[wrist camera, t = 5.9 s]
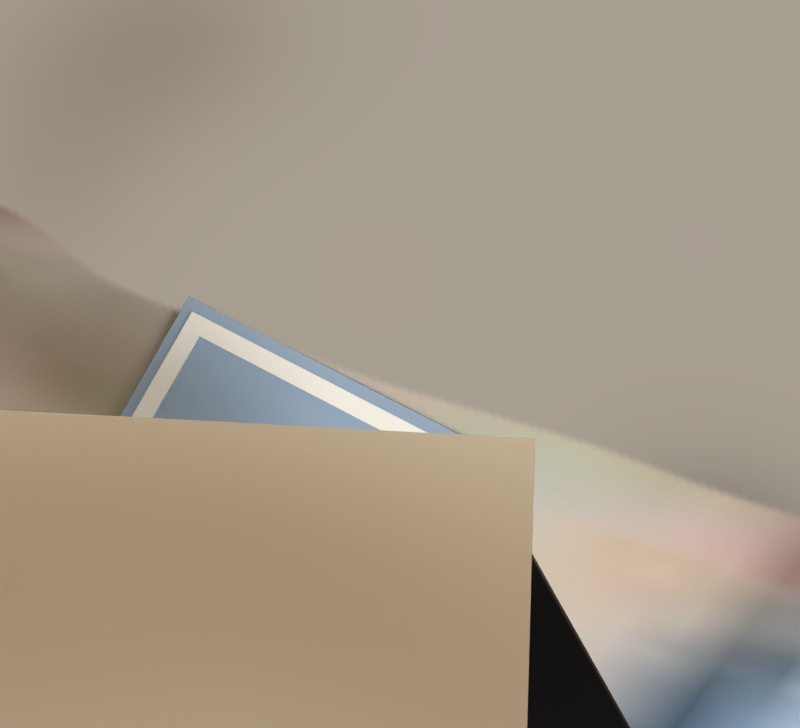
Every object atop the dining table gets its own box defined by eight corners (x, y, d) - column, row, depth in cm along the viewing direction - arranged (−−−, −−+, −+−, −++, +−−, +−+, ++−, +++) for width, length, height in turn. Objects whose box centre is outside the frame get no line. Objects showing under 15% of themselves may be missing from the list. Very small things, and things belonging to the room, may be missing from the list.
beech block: (462, 705, 15) (506, 1525, 3) (247, 688, 15) (-471, 1357, 3) (471, 483, 16) (534, 438, 4) (267, 470, 16) (-255, 395, 4)
